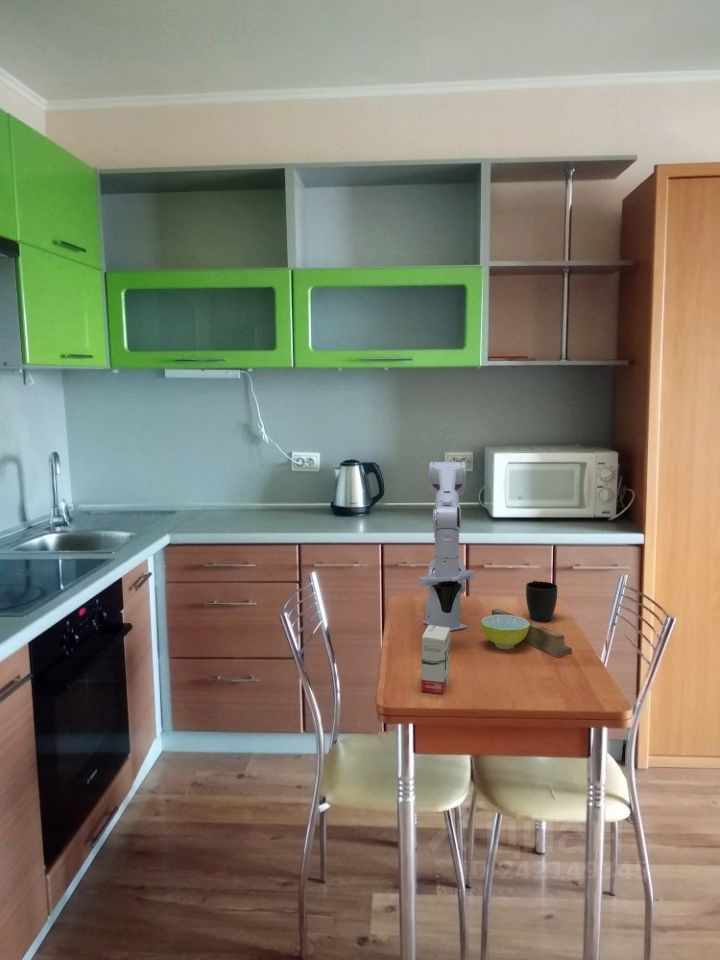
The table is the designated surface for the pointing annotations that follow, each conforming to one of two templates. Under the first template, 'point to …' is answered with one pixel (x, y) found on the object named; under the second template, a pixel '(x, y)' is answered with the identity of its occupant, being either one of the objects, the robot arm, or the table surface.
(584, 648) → the table surface
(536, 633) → the walnut wall
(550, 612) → the mug
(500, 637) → the bowl
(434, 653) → the ink box
